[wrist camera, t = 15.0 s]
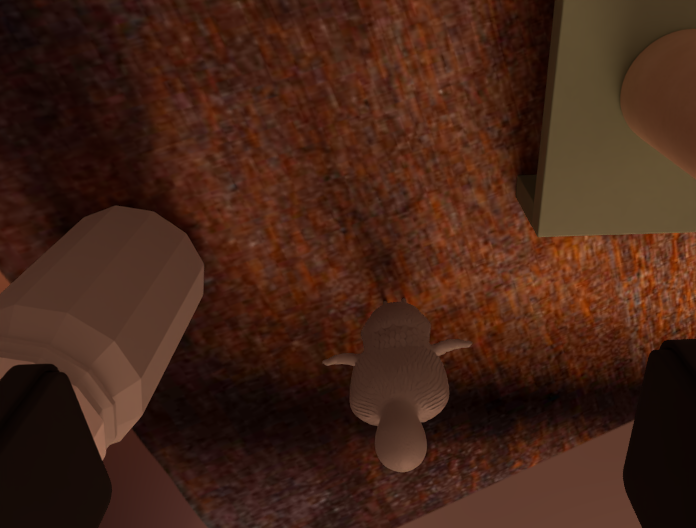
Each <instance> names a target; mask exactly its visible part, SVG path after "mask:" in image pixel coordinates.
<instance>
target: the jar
mask: <svg viewBox="0 0 696 528" xmlns="http://www.w3.org/2000/svg"><path fill="white" fill-rule="evenodd" d="M203 284H204V263H203V262H202V260H201V258H200V256H199V255H198V253H197V251H196V249H195V248H194V246H193V244H192V242H191V241H190V239H189V237H188V235H187V234H186V233H185V232H183V231H182V230H180V229H179V228H178V227H176V226H175V225H173V224H172V223H170V222H169V221H167V220H166V219H164V218H163V217H161V216H160V215H158V214H157V213H155V212H154V211H148V210H142V209H135V208H129V207H123V206H117V205H115V206H113V207H110V208H107V209H105V210H102V211H99V212H97V213H94V214H91V215H89V216H86V217H84V218H82V219H81V220H80V221H79V222H78V223H77V224H76V225H75V226H74V227H73V228H72V229H71V230H69V231H68V232H67V233H66V234H65V235H64V236H63V237H62V238H61V239H60V240H59V241H57V242H56V243H55V244H54V245H53V246H52V247H51V248H50V249H49V250H48V251H47V252H45V253H44V254H43V255H42V256H41V257H40V258H39V259H38V260H37V261H36V262H35V263H33V264H32V265H31V266H30V267H29V268H28V269H27V270H26V271H25V272H24V273H23V274H21V275H20V276H19V277H18V278H17V279H16V280H15V281H14V282H13V283H12V284H11V285H10V286H8V287H7V288H6V289H5V290H4V291H3V292H2V293H1V294H0V379H1V378H2V377H3V376H4V375H5V373H6V372H7V371H8V370H9V369H10V368H11V367H13V366H15V365H22V364H53V365H55V366H56V367H57V368H58V370H59V371H60V372H64V373H65V374H67V376H68V377H69V379H70V382H71V384H72V387H73V389H74V392H75V394H76V397H77V399H78V402H79V404H80V407H81V409H82V412H83V414H84V417H85V419H86V421H87V424H88V426H89V429H90V431H91V434H92V436H93V439H94V441H95V444H96V446H97V449H98V451H99V454H100V456H101V459H102V461H103V459H104V457H105V455H106V449H107V448H108V446H109V445H110V444H113V443H116V442H119V441H121V440H122V438H123V437H124V436H125V435H126V434H127V432H128V431H129V430H130V429H131V428H132V427H133V425H134V424H135V423H136V422H137V421H138V420H139V418H140V417H141V416H142V415H143V413H144V411H145V409H146V407H147V405H148V403H149V401H150V399H151V397H152V395H153V393H154V391H155V389H156V387H157V385H158V383H159V381H160V379H161V377H162V375H163V373H164V371H165V369H166V367H167V365H168V363H169V361H170V359H171V357H172V355H173V353H174V351H175V349H176V348H177V346H178V344H179V342H180V340H181V338H182V336H183V334H184V332H185V330H186V328H187V326H188V324H189V322H190V320H191V318H192V316H193V314H194V312H195V310H196V308H197V306H198V304H199V302H200V300H201V298H202V296H203Z"/></svg>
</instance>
